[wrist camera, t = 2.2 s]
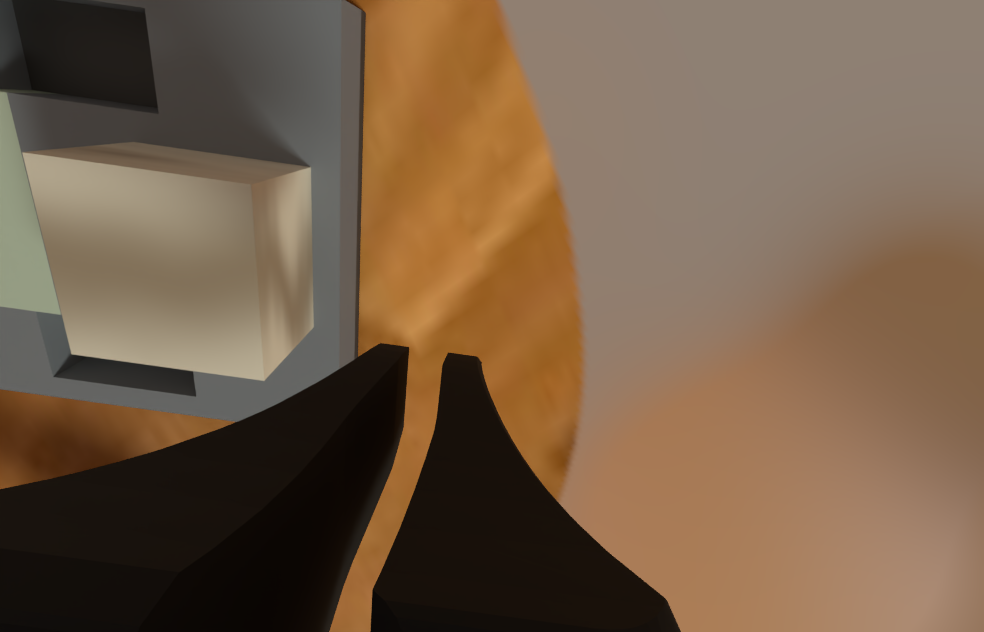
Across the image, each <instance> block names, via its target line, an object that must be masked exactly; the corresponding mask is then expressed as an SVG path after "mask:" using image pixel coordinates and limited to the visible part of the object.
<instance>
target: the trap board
mask: <svg viewBox="0 0 984 632" xmlns="http://www.w3.org/2000/svg"><path fill="white" fill-rule="evenodd" d="M365 17H366V13H365V12H364V11H362V10H360V9H359V8H357V7H356V6H354V5H352V4H351V3H349V2H347V1H346V0H0V389H3V390H10V391H17V392H24V393H32V394H39V395H46V396H53V397H61V398H68V399H75V400H83V401H90V402H97V403H104V404H112V405H119V406H126V407H133V408H141V409H148V410H155V411H162V412H170V413H177V414H184V415H192V416H199V417H206V418H213V419H221V420H228V421H235V422H238V421H240V420H243V419H245V418H247V417H250V416H252V415H254V414H257V413H259V412H261V411H263V410H265V409H267V408H270V407H272V406H274V405H276V404H278V403H280V402H282V401H284V400H285V399H287V398H289V397H291V396H293V395H295V394H297V393H298V392H300V391H302V390H304V389H306V388H308V387H309V386H311V385H313V384H315V383H317V382H319V381H320V380H322V379H324V378H325V377H327V376H329V375H330V374H332V373H334V372H335V371H337V370H338V369H340V368H342V367H343V366H345V365H347V364H348V363H350V362H351V361H353V360H354V359H356V358H357V357H358V322H359V278H360V235H361V191H362V148H363V104H364V60H365ZM127 142H138V143H145V144H152V145H159V146H166V147H173V148H180V149H187V150H194V151H201V152H208V153H215V154H222V155H229V156H236V157H243V158H250V159H257V160H265V161H272V162H279V163H286V164H293V165H300V166H307V167H311V201H312V258H313V314H314V328H313V329H312V330H311V331H310V332H309V333H308V334H307V335H306V336H305V337H304V338H303V339H302V341H301V342H300V343H299V344H298V345H297V346H296V347H295V348H294V349H293V350H292V351H291V352H290V354H289V355H288V356H287V357H286V358H285V359H284V360H283V361H282V362H281V363H280V364H279V365H278V367H277V368H276V369H275V370H274V371H273V372H272V373H271V374H270V375H269V376H268V377H267V378H266V380H265V381H261V380H254V379H247V378H239V377H232V376H225V375H218V374H210V373H203V372H196V371H189V370H182V369H174V368H167V367H160V366H153V365H145V364H138V363H131V362H124V361H116V360H109V359H102V358H95V357H88V356H80V355H73V354H71V350H70V346H69V342H68V338H67V334H66V330H65V326H64V322H63V318H62V314H61V309H60V305H59V301H58V297H57V293H56V289H55V285H54V281H53V277H52V273H51V269H50V264H49V260H48V256H47V252H46V248H45V244H44V240H43V236H42V232H41V228H40V223H39V219H38V215H37V211H36V207H35V203H34V199H33V195H32V191H31V187H30V183H29V178H28V174H27V170H26V166H25V162H24V158H23V154H22V152H30V151H40V150H51V149H62V148H73V147H84V146H95V145H105V144H116V143H127Z"/></svg>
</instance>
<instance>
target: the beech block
mask: <svg viewBox="0 0 984 632" xmlns="http://www.w3.org/2000/svg"><path fill="white" fill-rule="evenodd" d="M22 154H23V158H24V162H25V166H26V170H27V174H28V178H29V183H30V187H31V191H32V195H33V199H34V203H35V207H36V211H37V215H38V219H39V223H40V228H41V232H42V236H43V240H44V244H45V248H46V252H47V256H48V260H49V264H50V269H51V273H52V277H53V281H54V285H55V289H56V293H57V297H58V301H59V305H60V309H61V314H62V318H63V322H64V326H65V330H66V334H67V338H68V342H69V346H70V350H71V354H73V355H80V356H88V357H95V358H102V359H109V360H116V361H124V362H131V363H138V364H145V365H153V366H160V367H167V368H174V369H182V370H189V371H196V372H203V373H210V374H218V375H225V376H232V377H239V378H247V379H254V380H261V381H265V380H266V378H267V377H268V376H269V375H270V374H271V373H272V372H273V371H274V370H275V369H276V368H277V367H278V365H279V364H280V363H281V362H282V361H283V360H284V359H285V358H286V357H287V356H288V355H289V354H290V352H291V351H292V350H293V349H294V348H295V347H296V346H297V345H298V344H299V343H300V342H301V341H302V339H303V338H304V337H305V336H306V335H307V334H308V333H309V332H310V331H311V330H312V329H313V328H314V314H313V258H312V201H311V167H307V166H300V165H293V164H286V163H279V162H272V161H265V160H257V159H250V158H243V157H236V156H229V155H222V154H215V153H208V152H201V151H194V150H187V149H180V148H173V147H166V146H159V145H152V144H145V143H138V142H127V143H116V144H105V145H95V146H84V147H73V148H62V149H51V150H40V151H30V152H22Z"/></svg>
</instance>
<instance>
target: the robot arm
mask: <svg viewBox="0 0 984 632" xmlns="http://www.w3.org/2000/svg"><path fill="white" fill-rule="evenodd" d="M408 356H409V347H404V346H397V345H390V344H383V343H380V344H378V345H376V346H375V347H373V348H372V349H370V350H368V351H367V352H365V353H364V354H362V355H361V356H359V357H357V358H356V359H354V360H353V361H351V362H350V363H348V364H347V365H345V366H343V367H342V368H340V369H338V370H337V371H335V372H334V373H332V374H330V375H329V376H327V377H325V378H324V379H322V380H320V381H319V382H317V383H315V384H313V385H311V386H309V387H308V388H306V389H304V390H302V391H300V392H298V393H297V394H295V395H293V396H291V397H289V398H287V399H285V400H284V401H282V402H280V403H278V404H276V405H274V406H272V407H270V408H267V409H265V410H263V411H261V412H259V413H257V414H254V415H252V416H250V417H247V418H245V419H243V420H240V421H238V422H235V423H233V424H231V425H228V426H226V427H223V428H221V429H218V430H215V431H212V432H210V433H207V434H204V435H201V436H198V437H195V438H192V439H189V440H187V441H184V442H181V443H178V444H175V445H172V446H169V447H166V448H164V449H161V450H157V451H154V452H151V453H147V454H144V455H141V456H137V457H134V458H130V459H127V460H123V461H120V462H116V463H112V464H109V465H105V466H101V467H97V468H93V469H89V470H86V471H82V472H78V473H74V474H69V475H65V476H61V477H57V478H53V479H48V480H43V481H38V482H34V483H29V484H24V485H19V486H14V487H10V488H5V489H0V632H329V630H330V627H331V624H332V621H333V618H334V614H335V611H336V608H337V605H338V602H339V598H340V595H341V592H342V589H343V586H344V583H345V581H346V578H347V575H348V573H349V570H350V567H351V565H352V562H353V560H354V557H355V555H356V553H357V550H358V548H359V545H360V543H361V541H362V538H363V536H364V534H365V531H366V529H367V527H368V524H369V522H370V520H371V517H372V515H373V512H374V510H375V508H376V505H377V503H378V501H379V498H380V496H381V493H382V491H383V489H384V486H385V484H386V482H387V479H388V477H389V474H390V472H391V469H392V467H393V463H394V460H395V456H396V453H397V449H398V446H399V442H400V438H401V435H402V431H403V427H404V413H405V399H406V385H407V371H408ZM481 363H482V362H481V361H480V360H479V358H478V357H476V356H469V355H462V354H454V353H448V354H447V356H446V358H445V361H444V363H443V366H442V375H441V385H440V394H439V403H438V413H437V420H436V425H435V430H434V434H433V437H432V440H431V443H430V446H429V449H428V452H427V456H426V459H425V462H424V465H423V467H422V470H421V473H420V476H419V479H418V482H417V485H416V488H415V491H414V493H413V496H412V498H411V501H410V504H409V506H408V509H407V511H406V514H405V517H404V519H403V522H402V524H401V527H400V529H399V532H398V534H397V536H396V539H395V541H394V543H393V546H392V548H391V550H390V552H389V555H388V557H387V559H386V562H385V564H384V566H383V569H382V571H381V573H380V575H379V577H378V579H377V581H376V584H375V586H374V588H373V593H372V614H371V632H681V631H680V629H679V627H678V624H677V622H676V620H675V618H674V615H673V613H672V611H671V609H670V606H669V604H668V602H667V600H666V599H665V598H664V597H663V596H662V595H660V594H659V593H658V592H657V591H655V590H654V589H653V588H652V587H650V586H649V585H648V584H647V583H646V582H644V581H643V580H642V579H641V578H639V577H638V576H637V575H635V574H634V573H633V572H632V571H631V570H629V569H628V568H627V567H626V566H624V565H623V564H622V563H621V562H620V561H618V560H617V559H616V558H615V557H613V556H612V555H611V554H610V553H609V552H607V551H606V550H605V549H604V548H603V547H602V546H601V545H600V544H599V543H598V542H597V541H596V540H594V539H593V538H592V537H591V536H590V535H589V534H588V533H587V532H586V531H585V530H584V529H583V528H582V527H581V526H580V525H579V524H578V523H577V522H576V521H575V520H574V519H573V518H572V517H571V516H570V515H569V514H568V513H567V512H566V511H565V510H564V508H563V507H562V506H561V505H560V504H559V503H558V502H557V501H556V499H555V498H554V497H553V496H552V495H551V494H550V493H549V492H548V491H547V489H546V488H545V487H544V485H543V484H542V483H541V482H540V480H539V479H538V478H537V476H536V475H535V474H534V472H533V471H532V470H531V468H530V467H529V465H528V464H527V462H526V461H525V460H524V458H523V457H522V455H521V454H520V452H519V450H518V449H517V447H516V446H515V444H514V442H513V441H512V439H511V437H510V435H509V433H508V432H507V430H506V428H505V426H504V424H503V422H502V420H501V418H500V416H499V414H498V412H497V410H496V407H495V405H494V403H493V401H492V398H491V396H490V393H489V391H488V388H487V385H486V382H485V379H484V375H483V371H482V365H481Z"/></svg>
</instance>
